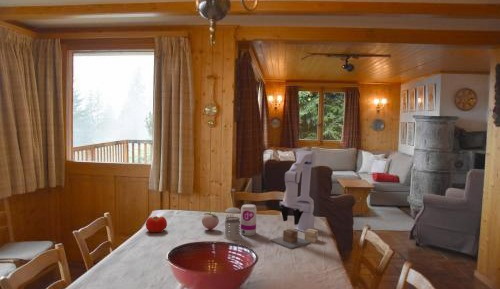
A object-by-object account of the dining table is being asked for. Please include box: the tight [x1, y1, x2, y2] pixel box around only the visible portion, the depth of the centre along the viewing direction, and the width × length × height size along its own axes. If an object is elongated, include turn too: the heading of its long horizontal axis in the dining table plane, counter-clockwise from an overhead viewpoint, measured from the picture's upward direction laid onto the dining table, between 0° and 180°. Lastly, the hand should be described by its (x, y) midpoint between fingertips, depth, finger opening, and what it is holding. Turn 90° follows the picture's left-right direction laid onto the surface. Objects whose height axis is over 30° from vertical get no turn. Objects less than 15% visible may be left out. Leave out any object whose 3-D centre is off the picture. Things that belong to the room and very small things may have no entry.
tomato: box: [145, 215, 168, 233], centre depth 198 cm, size 11×11×8 cm
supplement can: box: [240, 203, 258, 237], centre depth 197 cm, size 8×8×15 cm
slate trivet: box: [269, 236, 311, 250], centre depth 185 cm, size 14×14×1 cm
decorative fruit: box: [201, 211, 220, 231], centre depth 202 cm, size 9×8×10 cm
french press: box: [222, 188, 243, 241], centre depth 190 cm, size 10×12×25 cm
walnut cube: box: [282, 228, 299, 243], centre depth 185 cm, size 5×5×5 cm
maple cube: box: [304, 229, 319, 243], centre depth 189 cm, size 5×5×5 cm
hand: (290, 222), depth 185 cm, fingers open, 7 cm apart
